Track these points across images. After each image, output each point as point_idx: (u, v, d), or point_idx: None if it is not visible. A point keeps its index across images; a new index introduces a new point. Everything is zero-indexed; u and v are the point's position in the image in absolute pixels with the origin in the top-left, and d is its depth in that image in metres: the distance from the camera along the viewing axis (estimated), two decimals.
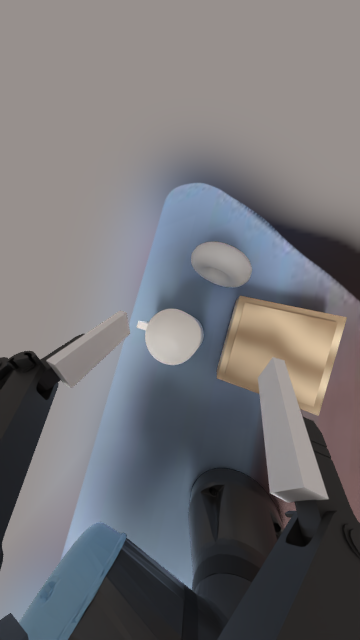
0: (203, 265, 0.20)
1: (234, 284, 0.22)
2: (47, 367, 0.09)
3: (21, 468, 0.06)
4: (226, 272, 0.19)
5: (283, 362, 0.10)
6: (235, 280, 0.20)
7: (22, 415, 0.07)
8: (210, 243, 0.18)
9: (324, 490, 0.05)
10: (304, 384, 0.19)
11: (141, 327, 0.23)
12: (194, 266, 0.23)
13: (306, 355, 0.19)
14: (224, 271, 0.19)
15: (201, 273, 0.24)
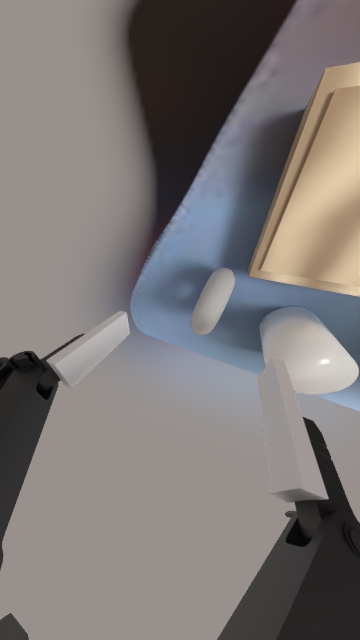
0: None
1: None
2: (47, 367, 0.09)
3: (21, 468, 0.06)
4: None
5: (283, 362, 0.10)
6: None
7: (22, 415, 0.07)
8: (194, 326, 0.18)
9: (324, 490, 0.05)
10: None
11: None
12: None
13: None
14: (223, 309, 0.16)
15: None
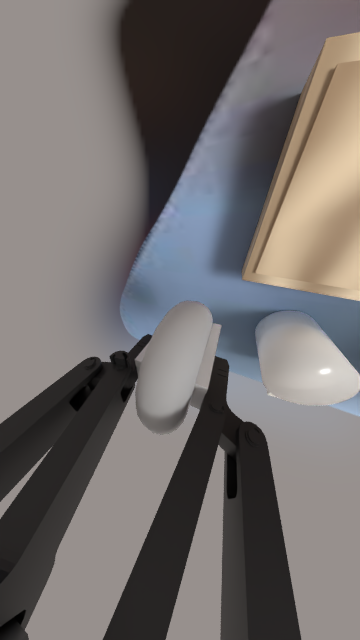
0: (187, 408, 0.10)
1: None
2: (132, 366, 0.09)
3: (90, 472, 0.06)
4: (192, 390, 0.08)
5: (220, 326, 0.13)
6: (202, 354, 0.08)
7: (105, 418, 0.07)
8: None
9: (207, 385, 0.08)
10: None
11: None
12: None
13: None
14: (190, 397, 0.08)
15: (198, 372, 0.13)
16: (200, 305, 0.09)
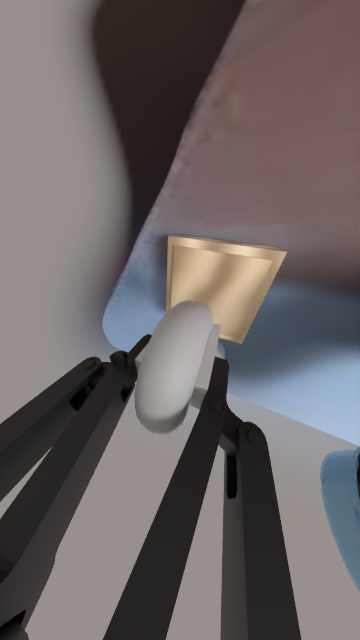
0: (187, 409, 0.10)
1: (208, 336, 0.09)
2: (132, 366, 0.09)
3: (90, 472, 0.06)
4: (191, 391, 0.08)
5: (220, 326, 0.13)
6: (202, 354, 0.08)
7: (105, 418, 0.07)
8: None
9: (207, 385, 0.08)
10: (244, 271, 0.17)
11: None
12: None
13: (211, 271, 0.18)
14: (190, 397, 0.08)
15: None
16: (200, 305, 0.09)
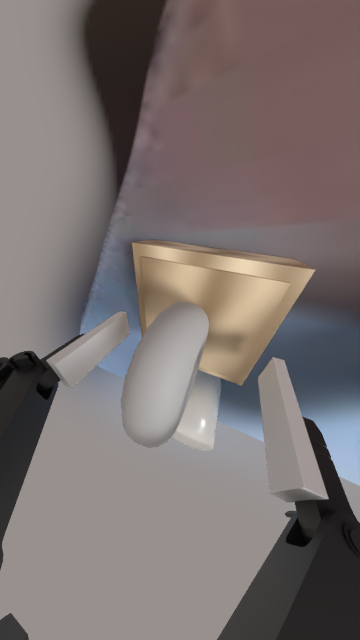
0: (180, 418, 0.09)
1: (203, 339, 0.08)
2: (47, 367, 0.09)
3: (21, 468, 0.06)
4: (182, 400, 0.07)
5: (283, 362, 0.10)
6: (195, 360, 0.07)
7: (22, 415, 0.07)
8: None
9: (324, 490, 0.05)
10: (244, 296, 0.11)
11: None
12: None
13: (195, 294, 0.12)
14: (180, 407, 0.07)
15: (193, 378, 0.13)
16: (194, 307, 0.09)
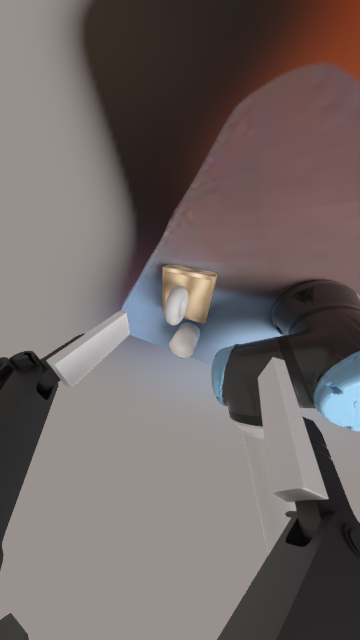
0: (178, 318, 0.33)
1: (184, 295, 0.32)
2: (47, 367, 0.09)
3: (21, 468, 0.06)
4: (179, 307, 0.31)
5: (283, 362, 0.10)
6: (182, 298, 0.31)
7: (22, 415, 0.07)
8: (166, 320, 0.32)
9: (324, 490, 0.05)
10: (199, 284, 0.35)
11: (182, 356, 0.47)
12: (180, 321, 0.35)
13: (184, 284, 0.36)
14: (178, 308, 0.31)
15: (183, 314, 0.36)
16: (182, 287, 0.32)
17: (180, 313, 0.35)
